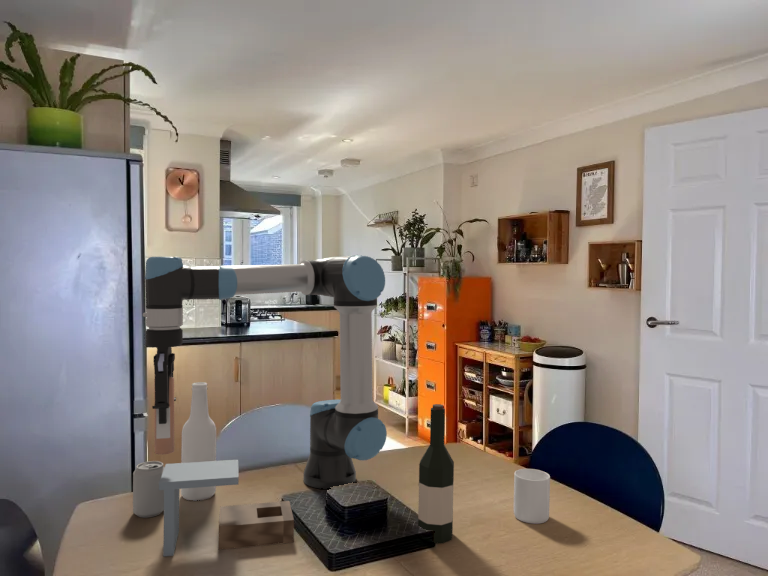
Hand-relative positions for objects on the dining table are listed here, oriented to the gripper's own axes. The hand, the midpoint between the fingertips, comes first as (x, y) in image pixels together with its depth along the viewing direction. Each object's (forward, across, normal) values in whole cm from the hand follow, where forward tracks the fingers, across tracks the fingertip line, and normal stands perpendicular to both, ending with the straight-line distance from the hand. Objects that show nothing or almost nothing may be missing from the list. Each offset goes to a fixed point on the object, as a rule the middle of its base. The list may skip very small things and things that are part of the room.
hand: (164, 434), depth 124 cm
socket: (+24, 0, +19) cm, 31 cm away
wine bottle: (+25, +9, +59) cm, 65 cm away
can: (+24, -18, -6) cm, 30 cm away
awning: (+24, 0, +7) cm, 25 cm away
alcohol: (+24, -27, +5) cm, 36 cm away
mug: (+25, +2, +86) cm, 90 cm away
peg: (+4, 0, 0) cm, 4 cm away
